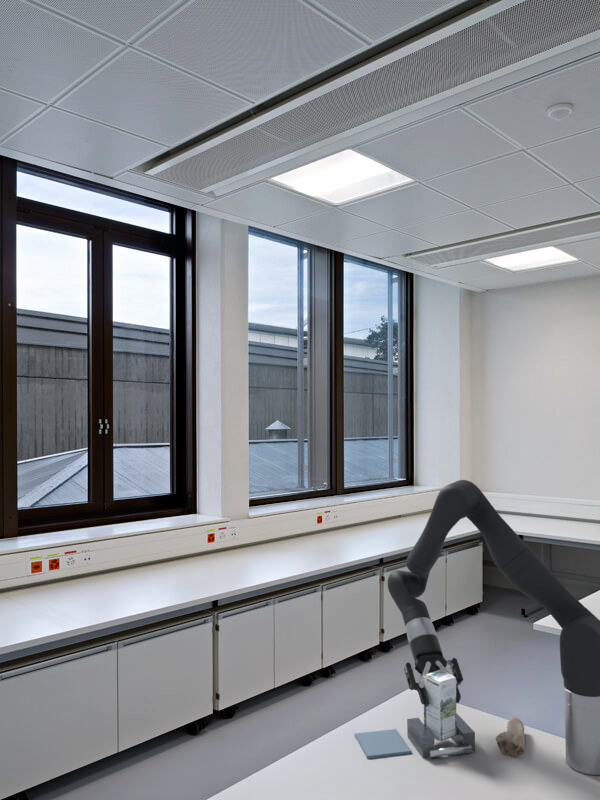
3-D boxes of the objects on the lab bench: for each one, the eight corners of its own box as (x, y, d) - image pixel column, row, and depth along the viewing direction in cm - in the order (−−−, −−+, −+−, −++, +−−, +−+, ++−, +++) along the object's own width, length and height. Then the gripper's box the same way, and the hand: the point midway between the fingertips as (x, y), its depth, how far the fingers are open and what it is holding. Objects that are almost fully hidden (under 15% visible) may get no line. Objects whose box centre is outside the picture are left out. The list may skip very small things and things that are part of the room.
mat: (395, 731, 162) (395, 728, 162) (411, 753, 151) (411, 750, 151) (354, 736, 160) (354, 733, 160) (367, 758, 149) (367, 756, 149)
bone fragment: (522, 760, 148) (521, 740, 148) (494, 753, 151) (493, 733, 151) (534, 735, 159) (533, 716, 160) (508, 730, 163) (507, 711, 163)
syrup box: (440, 726, 160) (438, 668, 160) (457, 736, 155) (456, 676, 155) (423, 733, 157) (422, 673, 157) (441, 743, 152) (439, 681, 152)
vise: (457, 731, 162) (456, 713, 162) (478, 754, 150) (477, 735, 150) (407, 737, 159) (407, 719, 159) (425, 761, 148) (424, 741, 148)
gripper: (400, 635, 162) (418, 700, 151) (452, 630, 165) (474, 694, 153) (394, 648, 167) (411, 713, 156) (444, 644, 170) (465, 707, 158)
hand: (442, 703), depth 154 cm, fingers closed on syrup box, 7 cm apart
